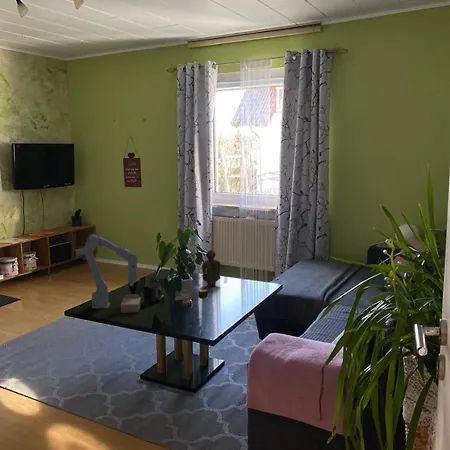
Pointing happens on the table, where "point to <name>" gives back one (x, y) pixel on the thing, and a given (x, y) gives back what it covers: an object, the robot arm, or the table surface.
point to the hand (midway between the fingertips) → (133, 293)
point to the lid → (131, 300)
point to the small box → (152, 292)
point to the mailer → (131, 308)
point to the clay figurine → (211, 269)
